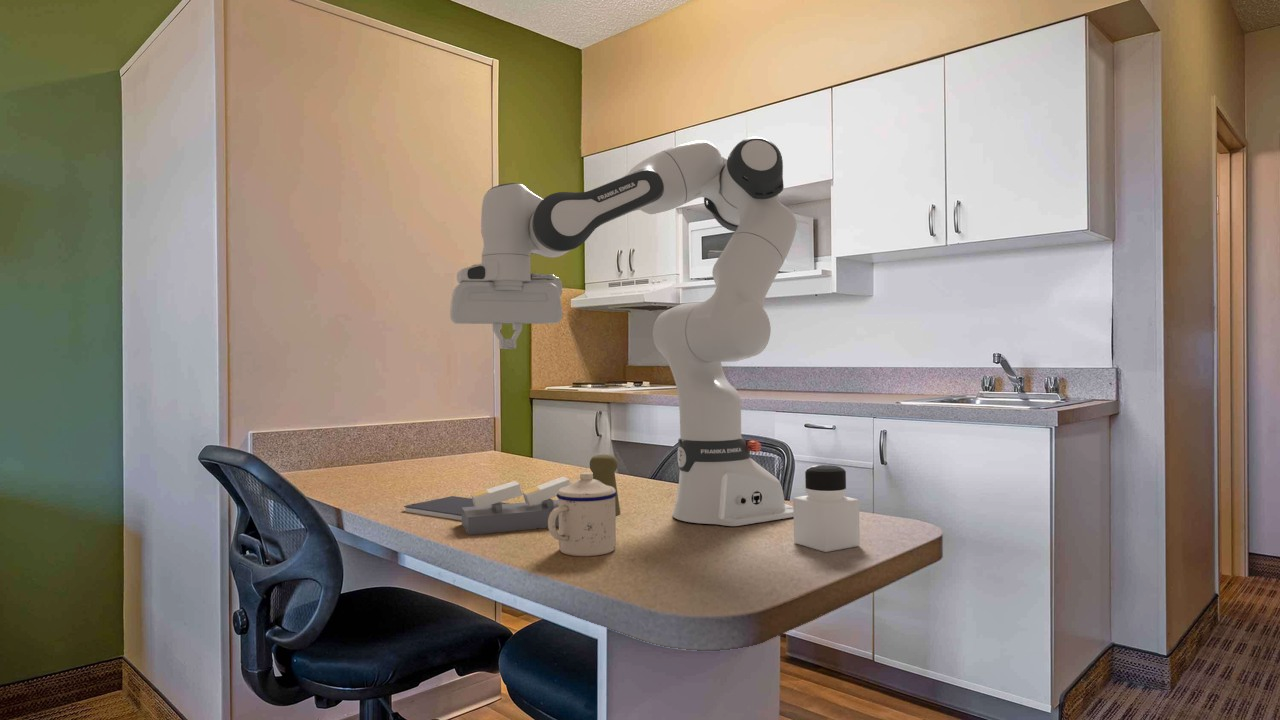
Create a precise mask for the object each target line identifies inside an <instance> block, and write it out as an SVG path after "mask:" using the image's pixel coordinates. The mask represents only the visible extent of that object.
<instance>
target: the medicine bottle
mask: <svg viewBox="0 0 1280 720" xmlns="http://www.w3.org/2000/svg"><path fill="white" fill-rule="evenodd" d="M846 472H847V471H846V470H845V469H844V468H842V467H841V466H838V465H831V464H825V465H824V464H816V465H811V466H809V467H807V468H806V469H805V471H804V478H805V479H804V481H805V482H804V483H805V487H804V488H805V489H804V490H805V493H806V494H807V495H801V496H795V497H793V499H792V500H793V501H792V504H793V506H792V507H793V515H794V517H793V543H794V544H797V545H799V546H803V547H807V548H810V549H813V550H817V551H819V552H824V553H829V552H834V551H839V550H844V549H845V550H846V549H850V548H851V549H852V548H855V547H860V544H861V543H860V538H861V537H860V534H861V533H860V500H859V499H857V498H853V497H848V496H845V495H846V494H847V475H846Z"/></svg>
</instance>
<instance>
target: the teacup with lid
mask: <svg viewBox="0 0 1280 720" xmlns="http://www.w3.org/2000/svg"><path fill="white" fill-rule="evenodd" d="M570 483H571V484H570V485H568V486H566V487H563V488H561V489H559V491H558V494H557V496H556V498H557V500H558V507H557V508H555V509H554V510H553V511H552V512H551V513H550V515H549V518H548V528H547V529H548V531H549V533H550V535H551V536H552V538H554V539H555V540H558V548H559V552H561V553H562V554H564V555H568V556H573V557H595V556H602V555H607V554H610V553H612V552H614V551H615V549H616V547H617V533H616V531H617V530H616V529H617V528H616V527H617V526H616V524H617V522H616V520H617V519H616V518H617V517H616V516H615V496H616V495H617V493H616V490H615V489H614V488H613V487H611V486H608V485H605V484H603V483H602V482H600V481H598V480H595V479H593V472H581V473H580V474H579V479H577V480H574V481H573V482H570ZM558 514H559V527H558V529H557V527H556V526H555V521H556V517H557V516H558Z"/></svg>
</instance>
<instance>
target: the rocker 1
mask: <svg viewBox="0 0 1280 720" xmlns="http://www.w3.org/2000/svg"><path fill="white" fill-rule="evenodd" d="M470 496H471V499H472V500H473V504H474V506H475V507H476V508H477V509H479V508H482V507H485V506H489V505H492V504H495V503H498V502H502V503H503V502H504V501H507V500H512V499H515V498H518V497H521V496H523V493H522V489H521V484H520V483H519V482H518V481H516V480H513V481H509V482H507V483H504V484H500V485H496V486H493V487H490V488H486V489H483V490H479V491H476V492H473V493H472V492H471V495H470Z"/></svg>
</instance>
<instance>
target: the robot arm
mask: <svg viewBox="0 0 1280 720" xmlns="http://www.w3.org/2000/svg"><path fill="white" fill-rule="evenodd" d="M783 173H784V162H783V156H782V153H781V151H780V149H779V148H778V146H777V145H776V144H775V143H773V142H772V141H770V140H769V139H766V138H763V137H760V136H751V137H746V138H745V139H742V140H741V141H740V142H738V143H736V145H735V146H734V147H733V149H732V150H731V151H730V153H729V155H728V156H727V158H725V157H723V156H722V154H721V152H720V151H719V149H718V148H717V147H716V146H715V145H714V144H713V143H711V142H710V141H708V140H695V141H690V142H687V143H682V144H679V145H674V146H673V147H670V148H667V149H664V150H661V151H659V152H656V153H655V154H652V155H651V156H649V157H647V158H645V159H644V160H642V161H640V162H639V163H637V164H636V165H634V166H633V167H631V169H630V170H629V171H628V173H627V174H625V175H623V176H622V177H620V178H617V179H615V180H613V181H612V180H611V182H607V183H605V184H603V185H599V186H598V187H594V188H593V189H590V190H588V191H582V192H581V191H580V192H576V191H575V192H573V191H571V192H570V191H559V192H554V193H551V194H549V195H547V196H545V197H544V198H542V197H540V196H539V195H537V194H535V193H534V192H532V191H531V190H529V189H528V188H527V186H525V185H524V184H522V183H516V182H509V183H503V184H499V185H496V186H493V187H490V188H489V189H488V191H486V192H485V194H484V195H483V199H482V204H481V213H480V214H481V215H480V217H481V219H480V227H481V229H480V232H481V233H480V234H481V237H482V240H483V248H482V252H481V262H480V263H477V264H473V265H471V266H468V267H464V268H461V269H460V270H458V272H456V281H457V282H458V284H457V285H456V286H455V287H454V289H453V291H452V295H451V301H450V310H449V312H450V313H449V314H450V315H449V317H450V321H452V323H453V324H457V325H458V324H459V325H461V324H463V325H464V324H465V325H467V324H469V325H471V324H472V325H473V324H482V325H483V324H485V325H486V324H487V325H488V324H489V325H492V331H493V333H494V335H495V336H496V338H497V339H498V349H501V350H506V349H507V350H510V349H512V350H513V349H517V340H518V337H519V336H520V334H521V332H522V331H523V324H525V325H526V324H528V325H529V324H530V325H531V324H532V325H533V324H538V325H539V324H540V325H542V324H545V325H546V324H547V325H548V324H550V325H551V324H552V325H553V324H559V323H560V322H561V321H562V319H563V307H562V305H563V304H562V301H561V300H562V299H561V296H562V294H563V283H562V281H561V280H562V279H560V278H559V277H557V276H555V275H554V274H552V273H547V274H542V273H531V271H532V269H531V254H533V255H536V256H537V255H538V256H542V257H546V258H558V257H561V256H564V255H565V254H567V253H568V252H570V251H572V250H574V249H575V250H576V249H577V248H578V247H580V246H581V245H583V243H585V242H586V241H587V240H588V239H589V237H590V236H591V235H592V234H593V232H594V231H595V230H596V229H598V228H599V227H601V226H603V225H604V224H606V223H609V222H611V221H614V220H615V219H618V218H620V217H623V216H625V215H628V214H629V213H633V212H635V211H641V212H643V213H645V214H647V215H654V214H655V215H656V214H660V213H665V212H667V211H670V210H673V209H676V208H678V207H681V206H683V205H685V204H687V203H690V202H691V201H693V200H696V199H699V198H703V202H704V203H703V204H704V207H705V208H706V210H707V211H709V212H710V213H711V215H712V216H713V218H714V219H715V220H716V221H717V223H718V224H719V225H720V226H721V227H723V228H725V229H726V230H728V231H730V232H733V234H732V236H731V238H730V239H728V242H727V244H726V246H725V247H724V249H723V250H722V252H721V254H720V255H719V257H718V258H717V260H716V262H715V263H714V265H713V268H712V278H713V281H714V284H715V286H716V289H715V291H714V293H713V294H712V295H711V296H710V297H709V298H708V299H707V300H704V301H699V302H690V303H681V304H678V305H676V306H673V307H671V308H669V309H667V310H664V311H662V312H661V313H660V314H659V315H658V316H657V318H656V320H655V321H654V323H653V327H652V339H653V344H654V346H655V348H656V350H657V351H658V352H659V353H660V354H661V355H662V356H663V357H664V359H665V360H666V362H667V364H668V366H669V368H670V371H671V373H672V377H673V379H674V383H675V386H676V390H677V395H678V397H677V398H678V406H679V407H678V409H679V430H680V431H679V434H680V437H679V438H678V441H677V442H678V443H677V463H678V466H677V467H678V470H679V477H678V478H679V479H678V487H677V494H676V495H677V496H676V501H675V506H674V509H673V513H672V517H673V518H674V519H677V520H678V521H683V522H685V523H687V522H688V523H692V524H693V523H695V524H707V525H718V526H719V525H720V526H727V527H738V526H744V525H751V524H756V523H757V524H758V523H765V522H771V521H777V520H781V519H782V520H784V519H789V518H794V515H793V506H792V505H791V504H790V505H789V504H787V503H785V496H784V491H783V487H782V485H781V482H780V481H779V479H778V477H776V476H774V475H773V474H772V473H770V472H769V471H768V470H766V469H765V468H764V467H763V466H762V465H761V464H759V463H758V462H756V461H755V460H754V459H753V458H751V452H754V453H759V452H760V450H762V447H763V446H762V444H761V443H760V442H759V441H758V440H757V441H756V440H749V441H748V440H747V439H746V438H743V437H742V401H741V396H740V393H739V392H738V390H737V389H736V388H735V387H734V386H733V385H732V384H731V383H730V382H729V381H728V379H727V377H726V375H725V371H724V369H723V366H722V363H723V362H724V363H725V362H728V363H729V362H734V363H735V362H739V361H744V360H746V359H749V358H752V357H756V356H758V355H760V354H761V353H762V352H763V351H765V349H766V348H767V346H768V343H769V342H770V341H769V340H770V337H771V322H770V318H769V316H768V313H767V312H766V310H765V309H764V304H765V299H766V297H767V295H768V292H769V291H770V289H771V286H772V284H773V282H774V281H775V279H776V277H777V275H778V273H779V271H780V269H781V268H782V267H783V265H784V263H785V261H786V259H787V258H788V257H787V256H788V255H789V252H790V251H791V248H792V245H793V242H794V239H795V236H796V232H797V229H798V225H797V220H796V217H795V214H794V213H793V212H792V211H791V209H790V208H789V207H787V206H786V205H784V204H782V203H781V202H780V200H779V194H781V193H782V192H783V190H784V189H785V188H784V187H785V186H784V179H783V177H784V176H783V175H784V174H783ZM507 324H512V330H513V331H514V332H513V335H512V336H511V338H504V336H503V334H502V333H501V331H500V330H502V329H503V325H507Z"/></svg>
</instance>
